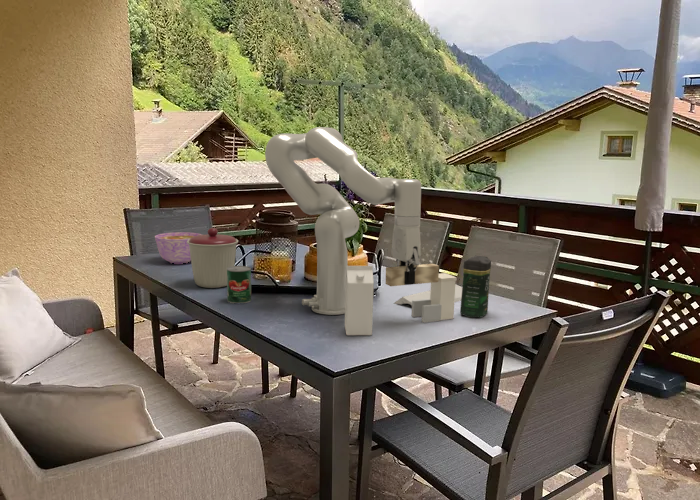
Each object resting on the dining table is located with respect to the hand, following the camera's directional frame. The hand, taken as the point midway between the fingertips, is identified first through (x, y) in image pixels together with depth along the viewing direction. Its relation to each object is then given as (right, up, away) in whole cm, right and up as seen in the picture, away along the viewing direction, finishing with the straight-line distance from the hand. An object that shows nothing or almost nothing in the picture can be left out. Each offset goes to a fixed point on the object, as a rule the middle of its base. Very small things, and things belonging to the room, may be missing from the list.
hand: (406, 282), depth 177 cm
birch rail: (+2, 0, +1) cm, 2 cm away
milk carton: (-14, -14, -9) cm, 22 cm away
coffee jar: (+23, -11, +11) cm, 28 cm away
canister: (-67, -3, +41) cm, 78 cm away
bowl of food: (-90, +4, +79) cm, 120 cm away
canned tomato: (-53, -7, +21) cm, 58 cm away
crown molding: (+13, -8, +28) cm, 31 cm away
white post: (+9, -11, +7) cm, 16 cm away
